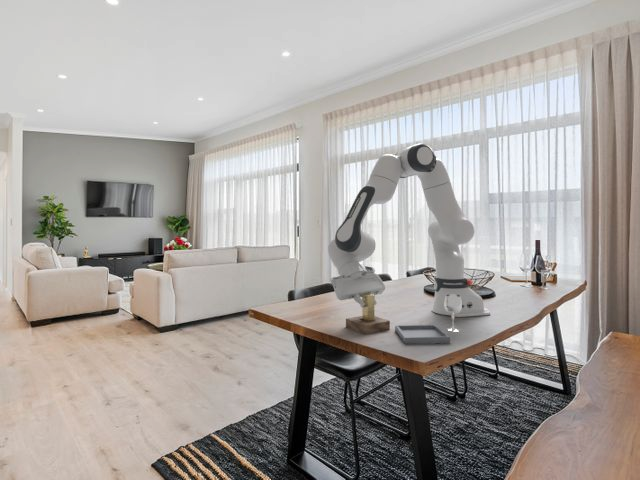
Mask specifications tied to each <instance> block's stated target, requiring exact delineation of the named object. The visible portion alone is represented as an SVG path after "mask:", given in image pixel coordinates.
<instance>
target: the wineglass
mask: <svg viewBox="0 0 640 480" xmlns="http://www.w3.org/2000/svg"><path fill="white" fill-rule="evenodd" d="M444 307H445V310H446V311H447V312H448V313H450V314H452V316H451V321H452V322H451V327H447V328H445V330H446V331H447V332H451V333H457V332H458V333H459V332H460V331H461V330H460V328H455V325H454V321H455V317H454V314H457V313H459V312H460V311H461V309H462V301H461V297H460V295H455V294H448V295H446V297H445V302H444Z"/></svg>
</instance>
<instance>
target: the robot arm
mask: <svg viewBox="0 0 640 480" xmlns="http://www.w3.org/2000/svg"><path fill="white" fill-rule="evenodd" d="M414 176H416V177H417V178H419V181H420V183H421V186H422V192H423V194H424V197H425V198H424V199H425V201H426V204H427V208H428V209H429V211H431V213H432V214H433V215H434V217H435V220H433V221H431V223H430V224H429V225H428V228H427V229H428V230H427V232H428V233H427V235H428V236H429V238H430V240H431V243H432V244H431V245H432V248H433V252H434V257H435V258H434V259H435V277H434V280H433V281H434V282H433V284H434V285H433V288H434V298H433V299H434V300H433V303H432V307H431V311H432V312H433V313H435V314H439V315H443V316H450V317H452V314H450V313H448V312H447V311H446V310H445V307H444V302H445V297H446V295H448V294H455V295H460V297H461V301H462V309H461V311H460V312H459V313H457V314H454V318H462V317H463V318H464V317H477V316H479V317H480V316H488V315H491V310H489V309H488V308H486V307H485V305H484V299H483V298H482V296H481V295H480V294H478V293H477V292H476V291H474V290H472V288H471V287H469V286H472V285H473V284H474V282H473V280H471V279H467V278H465V259H464V256H463V255H462V254H461V253H462V252H461V250H460V247H459V246H461V245H464V244H467V243H469V242H471V241H472V240H473V238H474V235H475V227H474V225H473V223H472V222H471V221H470V220H469V219H468V218H467V217H466V216H465V214H464V212H463V210H462V209H461V207H460V205H459V203H458V201H457V199H456V196H455V192H454V190H453V185H452V183H451V180H450V179H451V178H450V176H449V173H448V171H447V169H446V167H445V164H444V162H443V161H442V160H441V159H439V158H437V156H436V155H435V152H434V151H433V149H432V148H431V146H429V145H428V144H425V143H417V144H413V145H411V146H407V147H405V148H403V149H402V150H401V151H400V152H397V153H395V154H391V153H387V154H382V155H380V157H379V158H378V160H377V161H376V162H375V165H374V167H373V169H372V170H371V173H370V175H369V178H368V181H367V182H366V185H364V186H363V187H361V189H360V190H359V192H358V193H357V195H356V196H355V199H354V201H353V203H352V204H351V207H350V209H349V211H348V213H347V215H346V216H345V219H344V220H343V221H342V223H341V225H340V226H339V227H338V228H337V230H336V232H335V235H334V238H333V239H332V240H331V241H330V242H329V244H328V246H327V252H328V253H327V254H328V255H329V258H330V259H331V262H332V265H333V266H334V267H335V268H336V270H337V274H338V275H337V276H333V277H332V278H331V280H330V283H331V285H332V286H333V289H334V294H335V295H336V298H337V300H339V301H345V300H351V299H352V300H354V301H355V302H356V303H358V304H359V305H360V308H362V307H366V305H367V303H366V302H365V300H364V301H363V300H362V295H365V294H371V295H374V306H376V305H377V301H376V295H377V296H378V295H382V294H383V293H384V292H385V290H386V285H385V282H384V281H383V280H382V279H381V277H380V276H379V274H377V273H376V270H375V268H374V267H373V266H369V265H364V264H360V262H362V261H365V260H366V259H368V258H369V257H371V256H372V255H373V253H374V252H375V250H376V242H375V239H374V237H373V236H371V235H370V234H368V233H367V232H365V231H363V230H362V224H363V222H364V220H365V217H366V215H367V213H368V212H369V210H370V208H371V207H372V206H374V205H382V204H386V203H388V202H389V201H391V200H392V199H393V196H394V195H395V193H396V189H397V187H398V183H399V180H400V179H406V178H409V177H414Z"/></svg>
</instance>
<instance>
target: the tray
mask: <svg viewBox="0 0 640 480" xmlns="http://www.w3.org/2000/svg"><path fill="white" fill-rule="evenodd" d="M394 328H395V329H394V331H395V333H396V334H397V336H398V337H399V338H400V340H401V341H402V343H403V344H404V345H423V344H424V345H430V344H434V345H436V344H435V343H441V344H451V337H450V335H448V334H447V333H446V331H444V330H442V329H441V328H440V327H439V326H438V325H437V324H395V326H394ZM429 343H430V344H429Z"/></svg>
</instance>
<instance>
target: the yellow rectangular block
mask: <svg viewBox="0 0 640 480" xmlns="http://www.w3.org/2000/svg"><path fill="white" fill-rule="evenodd" d="M361 299H362V300H363V301H364V300H365V302H366V303H367V305H366V307H361V308H362V312H361V313H362V316H363V320H364V321H367V322H369V321H374V320H375V316H376V315H375V305H374V295H371V294H365V295H362V297H361Z"/></svg>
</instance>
